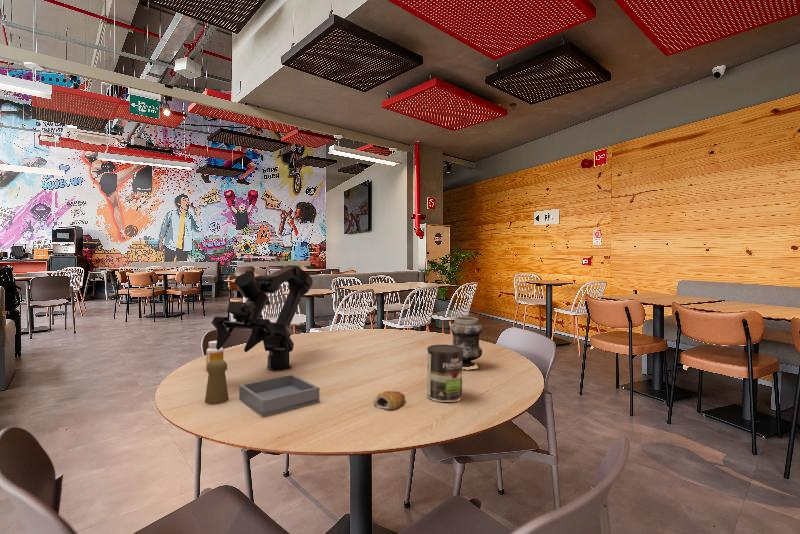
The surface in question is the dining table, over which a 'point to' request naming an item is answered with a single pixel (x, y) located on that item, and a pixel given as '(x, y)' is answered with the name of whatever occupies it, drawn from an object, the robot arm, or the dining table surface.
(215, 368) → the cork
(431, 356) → the coffee can
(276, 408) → the grey bin
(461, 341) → the apothecary jar
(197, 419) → the dining table surface
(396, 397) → the pastry
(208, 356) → the supplement bottle
